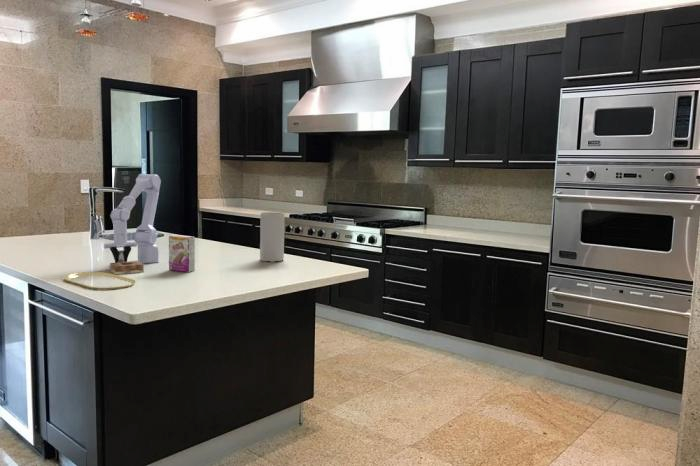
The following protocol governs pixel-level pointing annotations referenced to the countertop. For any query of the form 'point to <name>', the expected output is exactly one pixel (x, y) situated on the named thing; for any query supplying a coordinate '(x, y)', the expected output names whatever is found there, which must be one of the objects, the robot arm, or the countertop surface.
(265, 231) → the cylinder vase
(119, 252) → the pin
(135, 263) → the socket block
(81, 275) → the yellow rubber band
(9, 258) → the countertop surface
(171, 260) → the candy bar box
